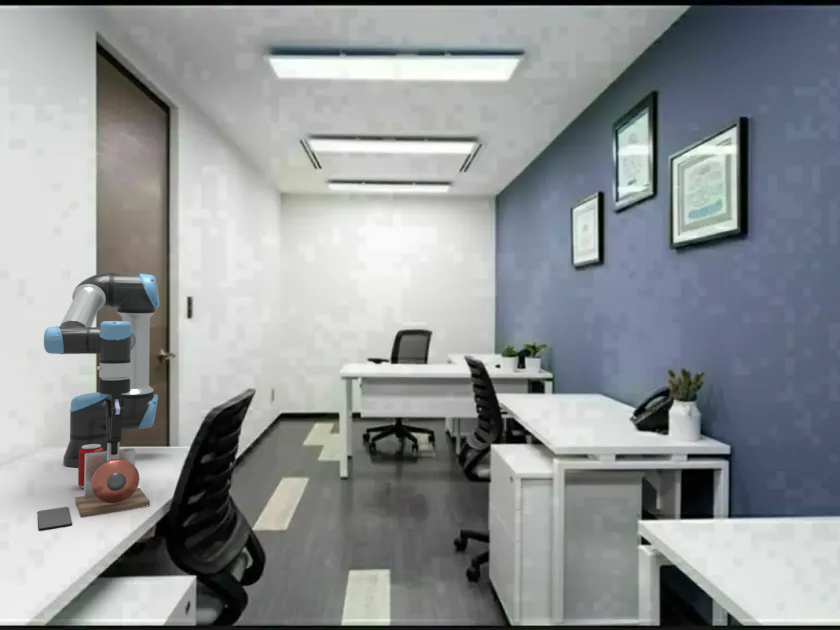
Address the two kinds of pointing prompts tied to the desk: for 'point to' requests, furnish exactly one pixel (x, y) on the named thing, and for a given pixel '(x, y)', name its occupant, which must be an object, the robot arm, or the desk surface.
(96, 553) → the desk surface
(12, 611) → the desk surface
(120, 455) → the eye plate
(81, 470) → the beverage can
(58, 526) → the smartphone
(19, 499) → the desk surface
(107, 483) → the copper knob thumbscrew
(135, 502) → the walnut board
